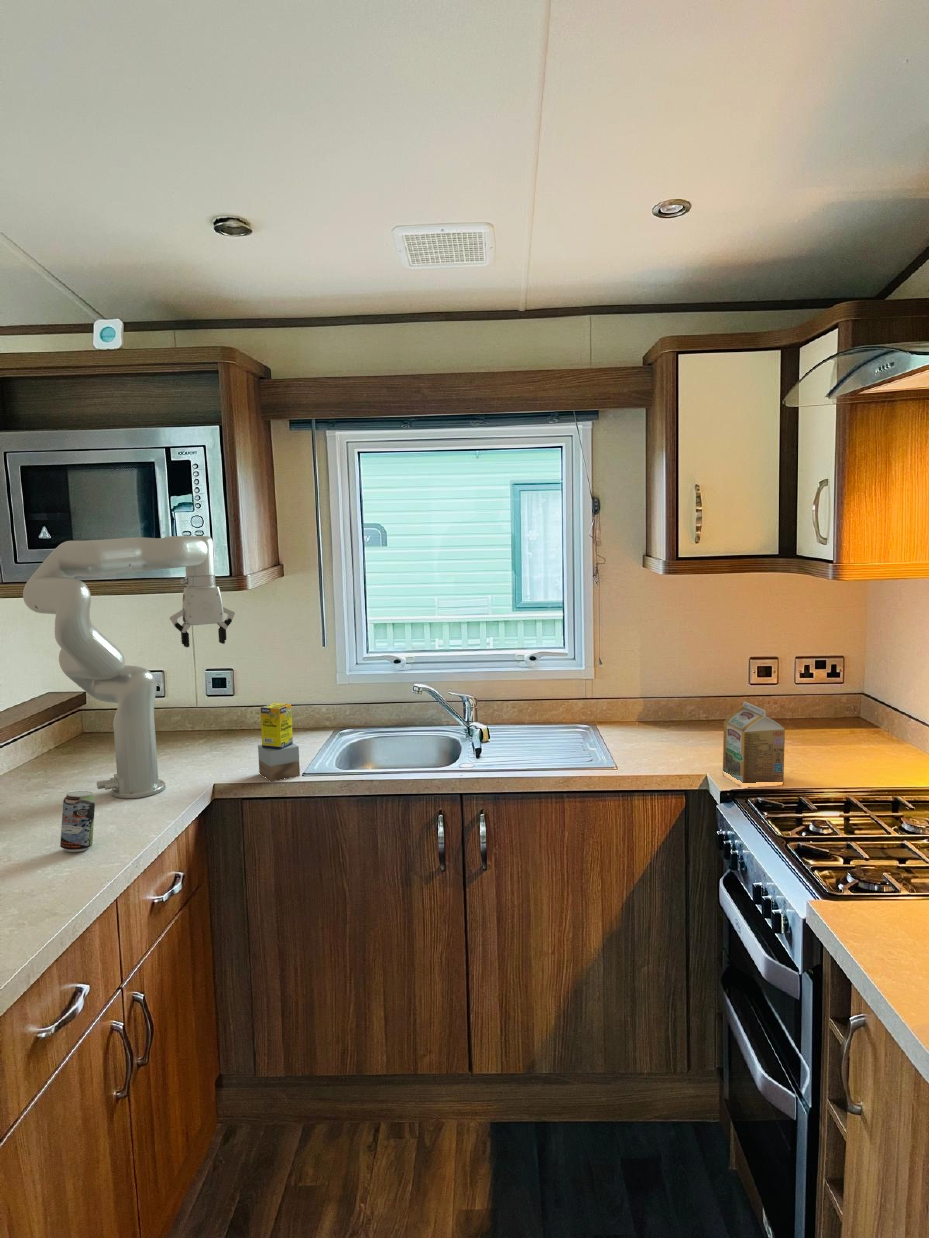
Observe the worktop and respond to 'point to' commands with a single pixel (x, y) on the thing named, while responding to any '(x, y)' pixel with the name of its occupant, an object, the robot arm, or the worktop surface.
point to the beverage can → (77, 821)
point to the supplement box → (276, 726)
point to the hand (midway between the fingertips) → (204, 644)
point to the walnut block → (279, 771)
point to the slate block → (278, 755)
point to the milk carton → (753, 746)
